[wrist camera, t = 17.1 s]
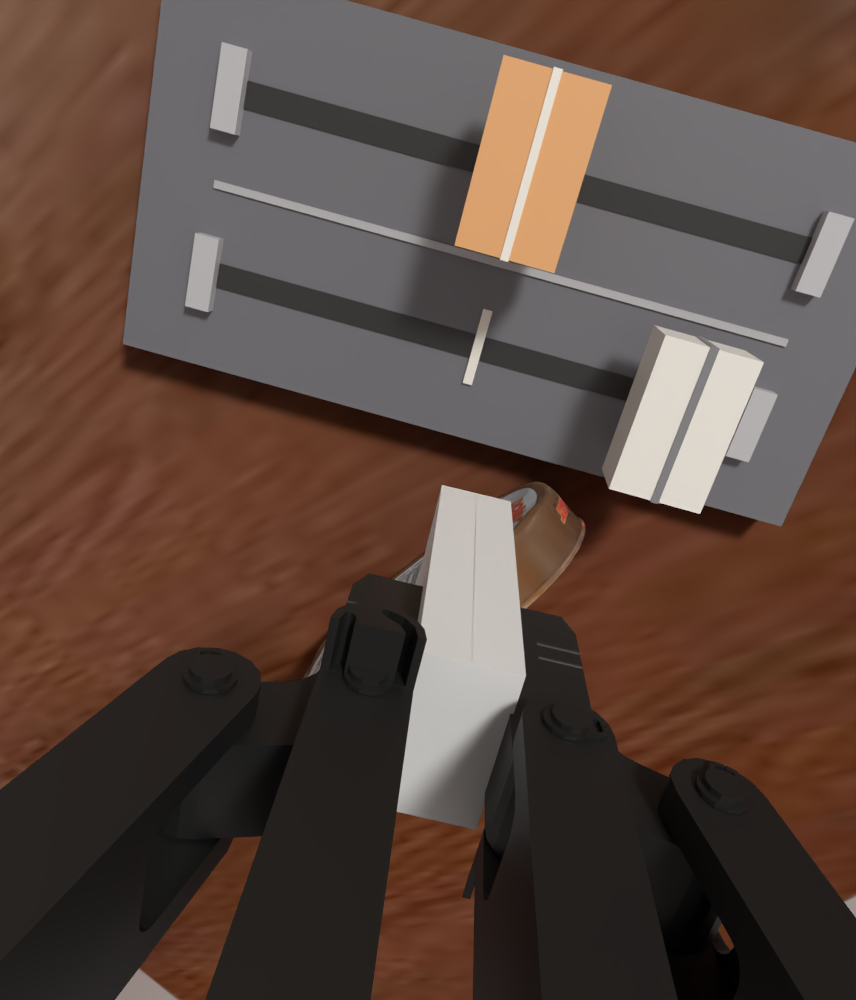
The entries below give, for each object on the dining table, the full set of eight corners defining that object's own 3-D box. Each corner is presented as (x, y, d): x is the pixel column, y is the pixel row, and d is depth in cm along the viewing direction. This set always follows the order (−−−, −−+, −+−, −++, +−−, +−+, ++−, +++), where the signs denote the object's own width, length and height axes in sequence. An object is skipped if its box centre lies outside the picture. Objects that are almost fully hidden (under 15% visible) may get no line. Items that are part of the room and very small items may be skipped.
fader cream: (596, 455, 34) (608, 490, 30) (645, 316, 32) (666, 333, 28) (676, 477, 34) (699, 515, 30) (731, 340, 32) (764, 361, 28)
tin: (353, 666, 42) (317, 773, 34) (312, 624, 41) (266, 724, 33) (582, 497, 37) (602, 576, 30) (540, 448, 37) (549, 515, 29)
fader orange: (460, 240, 32) (453, 246, 27) (504, 73, 29) (504, 52, 25) (547, 265, 32) (554, 274, 27) (598, 99, 29) (612, 83, 25)
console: (142, 336, 37) (116, 346, 34) (187, -35, 31) (160, -55, 29) (767, 509, 37) (785, 531, 34) (922, 170, 31) (956, 168, 29)
